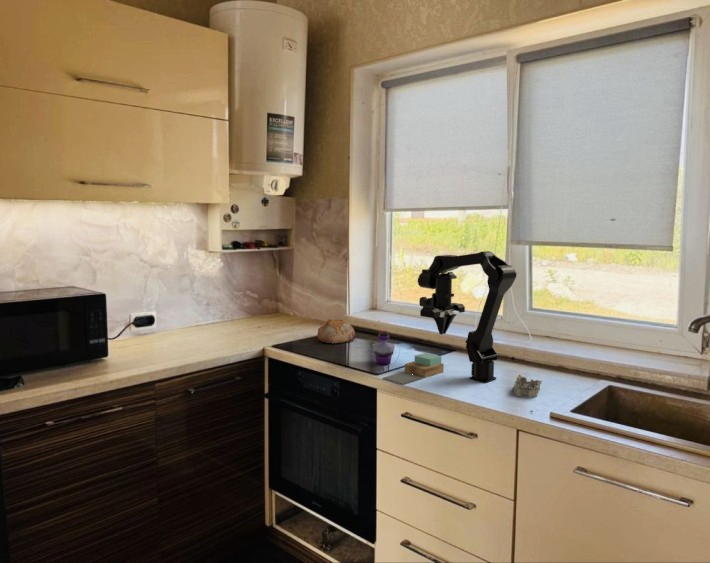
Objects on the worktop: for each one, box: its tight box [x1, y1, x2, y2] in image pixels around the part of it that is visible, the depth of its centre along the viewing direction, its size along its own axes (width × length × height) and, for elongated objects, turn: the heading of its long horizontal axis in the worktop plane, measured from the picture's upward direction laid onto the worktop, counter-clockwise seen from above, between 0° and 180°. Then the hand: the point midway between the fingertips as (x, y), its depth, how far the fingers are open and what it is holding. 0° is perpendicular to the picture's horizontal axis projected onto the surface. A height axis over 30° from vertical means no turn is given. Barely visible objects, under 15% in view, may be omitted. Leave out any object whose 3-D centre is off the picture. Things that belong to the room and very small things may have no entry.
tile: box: [414, 352, 442, 366], centre depth 191 cm, size 7×6×2 cm
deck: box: [404, 360, 444, 379], centre depth 190 cm, size 9×10×3 cm
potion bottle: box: [372, 330, 395, 366], centre depth 200 cm, size 9×9×12 cm
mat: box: [382, 371, 424, 386], centre depth 182 cm, size 9×10×1 cm
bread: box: [316, 319, 356, 345], centre depth 239 cm, size 16×20×10 cm
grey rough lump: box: [513, 374, 542, 398], centre depth 169 cm, size 11×8×4 cm
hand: (442, 334), depth 195 cm, fingers closed
